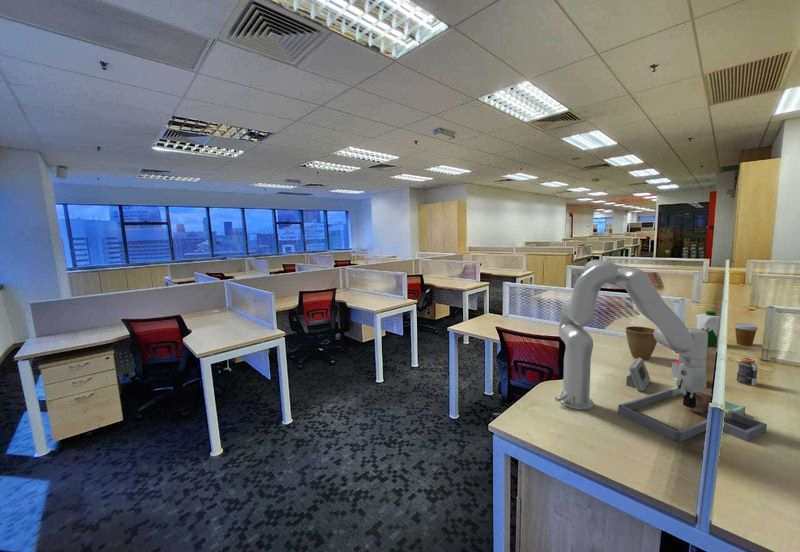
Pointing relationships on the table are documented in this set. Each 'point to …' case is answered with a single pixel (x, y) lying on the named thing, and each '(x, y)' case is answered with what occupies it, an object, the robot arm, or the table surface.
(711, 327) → the milk carton
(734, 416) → the box
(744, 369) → the pill bottle
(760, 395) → the table surface
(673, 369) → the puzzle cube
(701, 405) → the walnut block
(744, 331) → the disposable coffee cup
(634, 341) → the plant pot
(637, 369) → the digital clock
